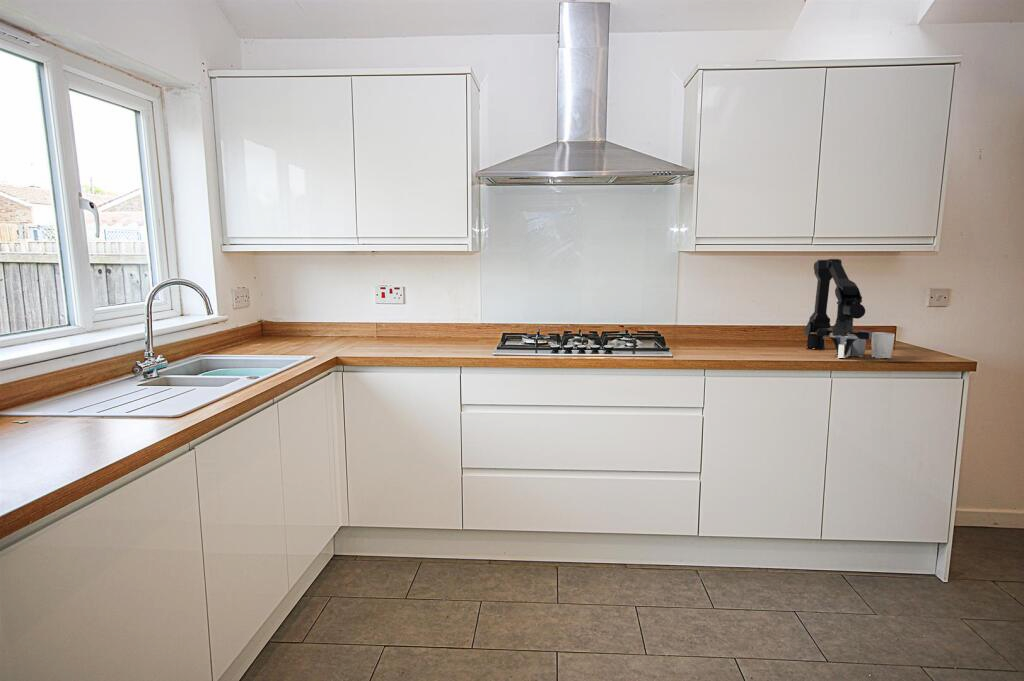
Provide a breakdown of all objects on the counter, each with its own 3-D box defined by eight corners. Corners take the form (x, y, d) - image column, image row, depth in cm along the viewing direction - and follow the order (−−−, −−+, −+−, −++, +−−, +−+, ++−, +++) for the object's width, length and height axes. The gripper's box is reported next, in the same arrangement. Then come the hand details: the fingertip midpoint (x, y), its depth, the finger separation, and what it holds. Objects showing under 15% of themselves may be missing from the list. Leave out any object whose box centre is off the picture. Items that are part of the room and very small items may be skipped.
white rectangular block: (847, 354, 244) (848, 341, 243) (852, 354, 243) (853, 341, 242) (837, 358, 233) (838, 344, 232) (843, 358, 232) (844, 345, 231)
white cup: (869, 358, 236) (871, 333, 234) (870, 355, 242) (872, 331, 241) (892, 359, 231) (894, 335, 230) (892, 357, 238) (894, 333, 237)
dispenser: (840, 352, 249) (842, 332, 248) (864, 355, 243) (866, 334, 242) (835, 354, 244) (837, 334, 243) (860, 357, 238) (861, 336, 236)
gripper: (813, 316, 232) (810, 354, 234) (867, 319, 219) (863, 359, 222) (821, 314, 240) (819, 351, 242) (873, 317, 228) (870, 356, 230)
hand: (842, 354), depth 234 cm, fingers closed on white rectangular block, 2 cm apart
